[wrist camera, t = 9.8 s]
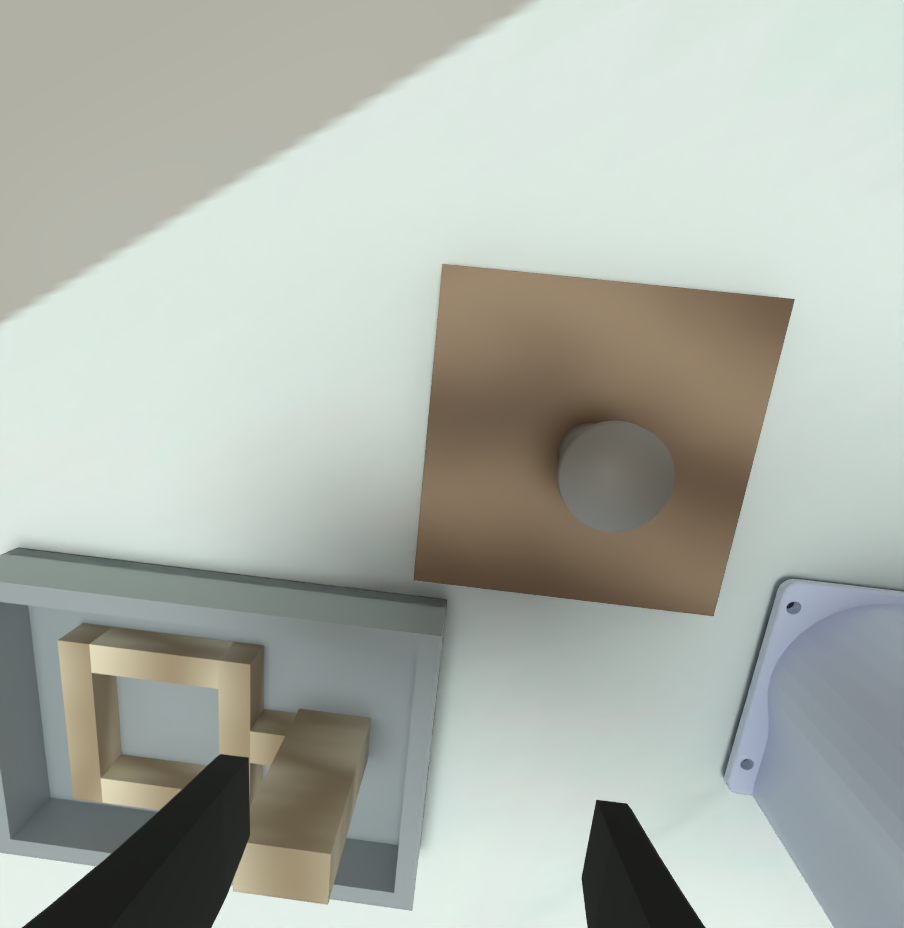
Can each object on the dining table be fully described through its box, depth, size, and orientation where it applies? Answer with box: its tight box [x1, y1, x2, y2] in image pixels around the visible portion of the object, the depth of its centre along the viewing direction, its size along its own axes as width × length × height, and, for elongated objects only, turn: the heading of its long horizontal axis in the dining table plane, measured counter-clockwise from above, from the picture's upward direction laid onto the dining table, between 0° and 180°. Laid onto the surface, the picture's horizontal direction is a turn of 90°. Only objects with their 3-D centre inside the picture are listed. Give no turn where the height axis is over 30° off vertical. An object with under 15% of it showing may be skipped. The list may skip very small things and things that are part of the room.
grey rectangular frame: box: [0, 548, 447, 911], centre depth 19 cm, size 13×18×2 cm
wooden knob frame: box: [57, 623, 371, 905], centre depth 17 cm, size 12×8×6 cm, turn 84°
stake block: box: [414, 264, 795, 616], centre depth 15 cm, size 11×11×5 cm
